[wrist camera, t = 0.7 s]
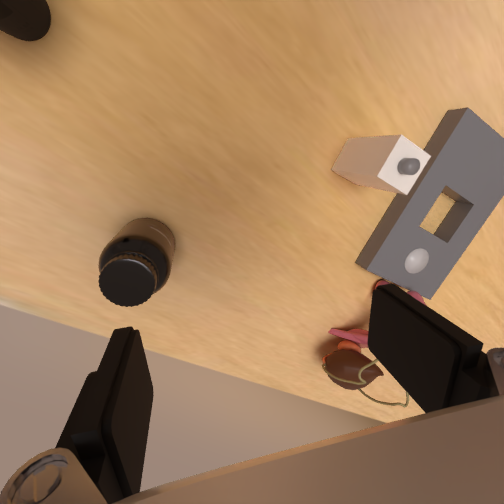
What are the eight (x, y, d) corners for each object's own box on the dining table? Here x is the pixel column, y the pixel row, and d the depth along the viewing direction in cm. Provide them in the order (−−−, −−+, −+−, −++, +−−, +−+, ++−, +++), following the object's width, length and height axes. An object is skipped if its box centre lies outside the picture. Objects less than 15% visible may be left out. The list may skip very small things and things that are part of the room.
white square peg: (347, 138, 36) (410, 133, 26) (372, 154, 38) (440, 156, 28) (330, 169, 37) (384, 177, 27) (355, 184, 39) (415, 196, 29)
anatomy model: (441, 297, 45) (459, 413, 35) (357, 314, 56) (353, 406, 46) (401, 258, 40) (409, 378, 31) (319, 286, 51) (306, 380, 42)
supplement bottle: (178, 221, 36) (174, 254, 25) (171, 270, 38) (164, 320, 27) (120, 211, 34) (87, 242, 23) (115, 263, 36) (83, 314, 25)
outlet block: (447, 110, 38) (468, 107, 35) (506, 159, 43) (529, 160, 40) (354, 262, 43) (366, 270, 40) (416, 291, 48) (430, 300, 45)
